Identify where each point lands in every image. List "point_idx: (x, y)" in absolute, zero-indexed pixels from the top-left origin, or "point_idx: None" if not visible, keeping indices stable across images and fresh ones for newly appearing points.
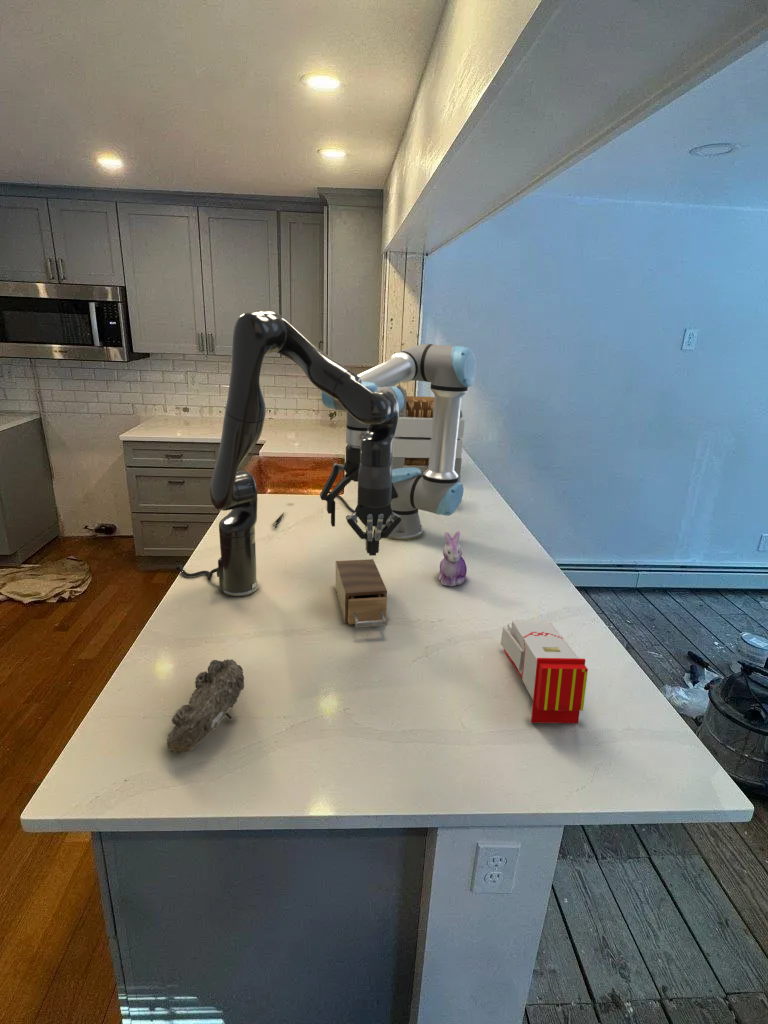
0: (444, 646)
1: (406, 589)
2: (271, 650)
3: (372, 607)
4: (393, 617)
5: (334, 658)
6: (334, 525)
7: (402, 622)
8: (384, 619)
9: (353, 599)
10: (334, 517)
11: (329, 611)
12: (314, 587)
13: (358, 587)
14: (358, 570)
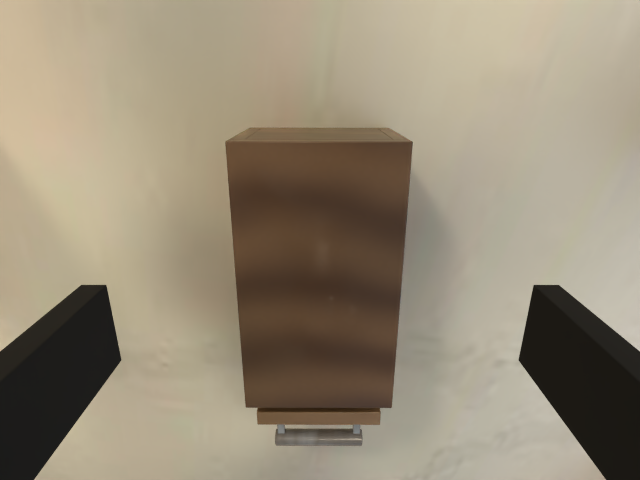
0: (480, 454)
1: (505, 171)
2: (82, 422)
3: None
4: (402, 331)
5: (225, 461)
6: (113, 365)
7: (418, 356)
8: (357, 432)
9: (272, 416)
10: (73, 419)
11: (221, 279)
12: (171, 111)
13: (296, 378)
14: (318, 252)
